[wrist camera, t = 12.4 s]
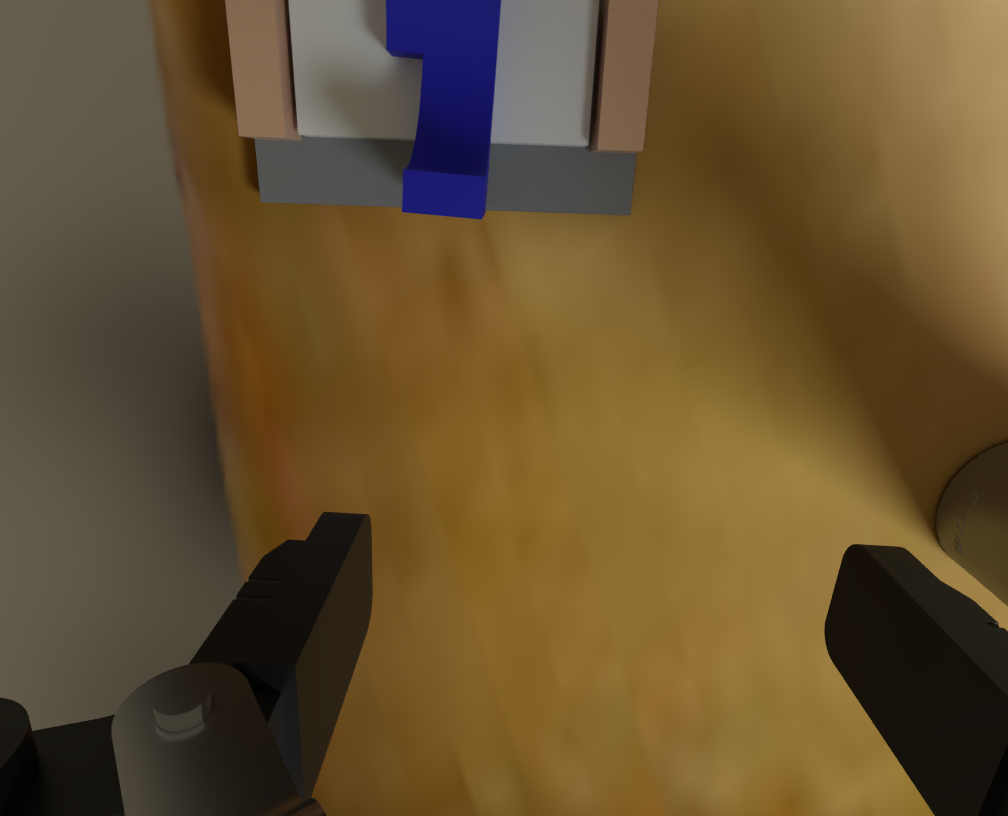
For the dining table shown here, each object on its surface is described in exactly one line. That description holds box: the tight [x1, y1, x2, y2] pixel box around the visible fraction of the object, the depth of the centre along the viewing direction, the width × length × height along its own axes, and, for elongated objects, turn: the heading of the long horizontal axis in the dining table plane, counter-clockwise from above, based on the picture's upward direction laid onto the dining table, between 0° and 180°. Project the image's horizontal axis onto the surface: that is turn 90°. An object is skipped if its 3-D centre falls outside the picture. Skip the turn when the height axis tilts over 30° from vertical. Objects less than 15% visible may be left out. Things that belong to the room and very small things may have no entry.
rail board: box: [225, 0, 659, 215], centre depth 28 cm, size 18×12×4 cm, turn 88°
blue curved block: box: [386, 0, 501, 219], centre depth 24 cm, size 12×4×6 cm, turn 175°
